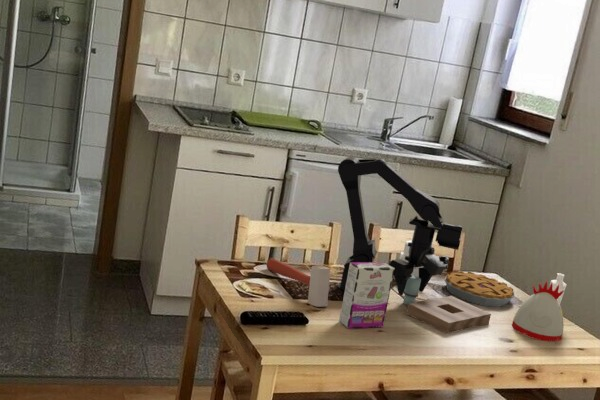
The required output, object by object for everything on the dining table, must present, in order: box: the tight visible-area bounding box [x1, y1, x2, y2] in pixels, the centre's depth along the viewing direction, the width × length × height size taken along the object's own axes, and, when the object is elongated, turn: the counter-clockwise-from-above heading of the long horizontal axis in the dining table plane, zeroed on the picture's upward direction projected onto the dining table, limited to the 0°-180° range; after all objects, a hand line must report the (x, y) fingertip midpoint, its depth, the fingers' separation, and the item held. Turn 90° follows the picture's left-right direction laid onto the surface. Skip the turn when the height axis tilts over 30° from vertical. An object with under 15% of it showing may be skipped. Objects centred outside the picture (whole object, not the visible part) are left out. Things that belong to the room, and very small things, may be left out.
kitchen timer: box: [511, 280, 565, 342], centre depth 215 cm, size 14×14×15 cm
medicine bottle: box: [398, 239, 419, 277], centre depth 244 cm, size 7×7×12 cm
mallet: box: [266, 257, 331, 308], centre depth 216 cm, size 11×4×30 cm
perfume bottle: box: [549, 272, 567, 305], centre depth 226 cm, size 5×4×15 cm
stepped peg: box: [402, 276, 421, 307], centre depth 219 cm, size 4×4×8 cm
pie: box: [444, 270, 516, 308], centre depth 240 cm, size 22×22×5 cm
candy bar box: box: [338, 261, 395, 330], centre depth 196 cm, size 11×5×16 cm, turn 117°
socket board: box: [406, 295, 492, 334], centre depth 214 cm, size 20×14×3 cm
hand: (410, 293), depth 219 cm, fingers open, 9 cm apart
